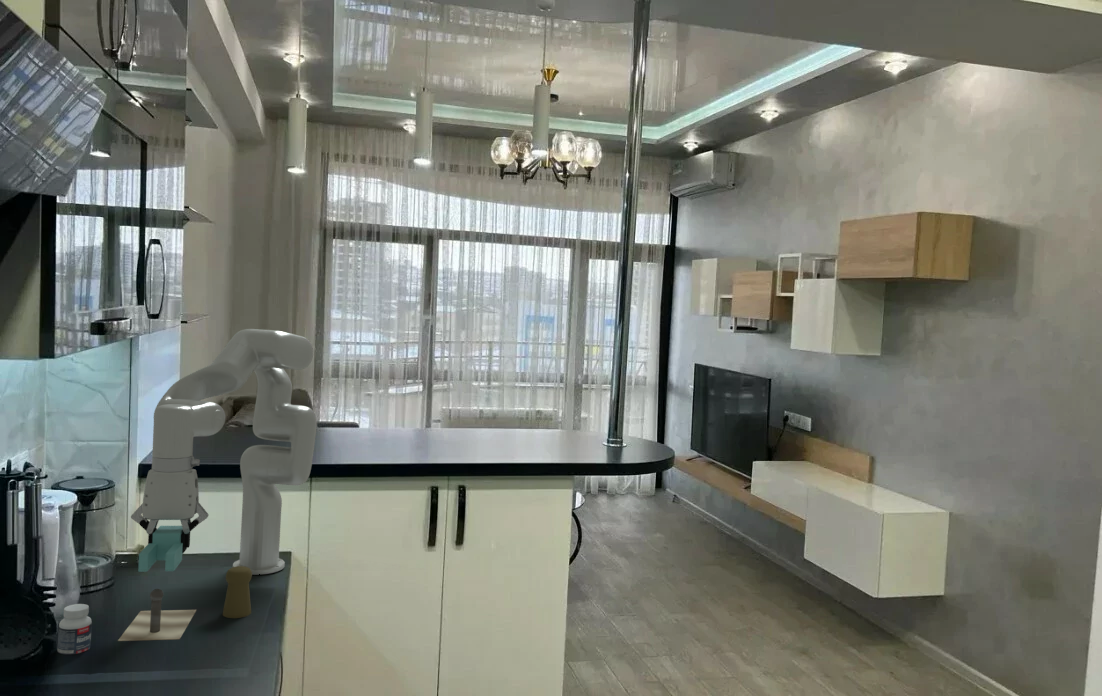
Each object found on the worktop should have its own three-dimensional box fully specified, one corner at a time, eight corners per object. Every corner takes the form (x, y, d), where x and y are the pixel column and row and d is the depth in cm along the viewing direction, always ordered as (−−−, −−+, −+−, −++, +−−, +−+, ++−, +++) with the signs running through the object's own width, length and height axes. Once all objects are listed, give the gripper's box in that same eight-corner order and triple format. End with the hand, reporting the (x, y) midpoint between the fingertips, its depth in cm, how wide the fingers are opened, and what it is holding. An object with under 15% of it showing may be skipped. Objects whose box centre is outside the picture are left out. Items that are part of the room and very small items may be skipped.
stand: (140, 616, 167) (142, 571, 167) (196, 615, 169) (198, 570, 169) (117, 647, 151) (119, 597, 151) (179, 645, 154) (181, 596, 154)
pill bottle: (78, 661, 144) (80, 613, 144) (50, 659, 144) (52, 611, 144) (96, 650, 149) (98, 603, 149) (69, 648, 150) (71, 601, 149)
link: (155, 551, 166) (156, 525, 166) (188, 551, 168) (189, 525, 168) (138, 571, 154) (139, 543, 154) (173, 571, 155) (175, 543, 155)
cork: (241, 625, 165) (243, 573, 165) (215, 621, 166) (218, 569, 166) (257, 615, 171) (260, 565, 171) (232, 612, 172) (234, 562, 172)
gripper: (219, 461, 169) (216, 545, 170) (132, 460, 165) (129, 546, 166) (212, 468, 162) (209, 556, 163) (121, 467, 158) (118, 557, 159)
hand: (168, 550), depth 164 cm, fingers closed on link, 5 cm apart
